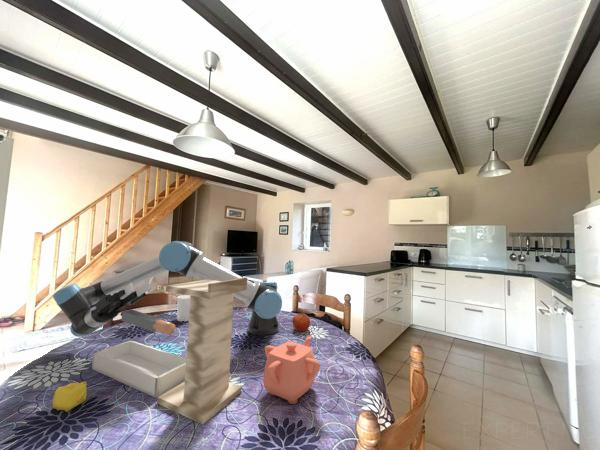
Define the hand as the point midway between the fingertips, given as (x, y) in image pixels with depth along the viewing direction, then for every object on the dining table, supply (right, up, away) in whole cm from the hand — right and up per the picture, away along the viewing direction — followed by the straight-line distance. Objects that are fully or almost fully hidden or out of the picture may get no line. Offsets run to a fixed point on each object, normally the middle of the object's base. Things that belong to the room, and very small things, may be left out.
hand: (140, 286), depth 80 cm
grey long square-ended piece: (+4, -12, -3) cm, 13 cm away
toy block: (-4, -25, -19) cm, 32 cm away
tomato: (+54, -32, +39) cm, 74 cm away
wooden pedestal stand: (+26, -26, -15) cm, 40 cm away
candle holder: (-9, -31, +50) cm, 59 cm away
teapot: (+51, -28, -10) cm, 59 cm away
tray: (+3, -27, -4) cm, 27 cm away
